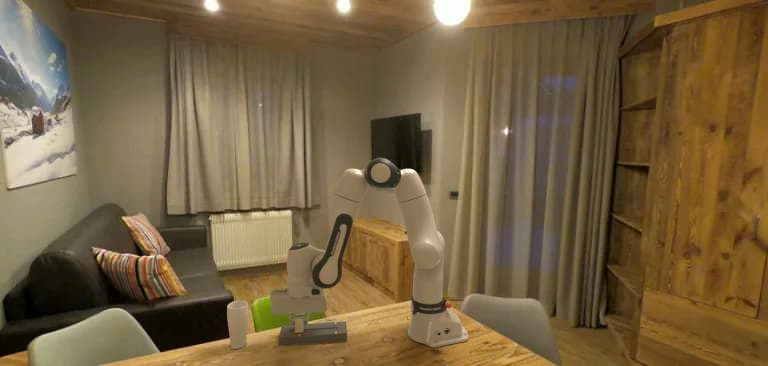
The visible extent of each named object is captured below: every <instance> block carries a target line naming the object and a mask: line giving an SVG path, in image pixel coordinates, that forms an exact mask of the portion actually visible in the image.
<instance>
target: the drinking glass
mask: <svg viewBox="0 0 768 366" xmlns="http://www.w3.org/2000/svg"><path fill="white" fill-rule="evenodd" d="M226 313H227V314H226V316H227V317H226V318H227V319H226V320H227V327H228V333H229V345H230V348H231V349H234V350H240V349H242V348H244V347H246V345H247V341H248V339H247V337H248V321H249V303H248V301H245V300H235V301H232V302H229V303H228V304H227V306H226Z"/></svg>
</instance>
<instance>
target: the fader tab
mask: <svg viewBox="0 0 768 366" xmlns="http://www.w3.org/2000/svg"><path fill="white" fill-rule="evenodd" d="M304 318H305V314H295V317H294V319H295V333H299V332H304Z"/></svg>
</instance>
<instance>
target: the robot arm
mask: <svg viewBox="0 0 768 366" xmlns="http://www.w3.org/2000/svg"><path fill="white" fill-rule="evenodd" d="M373 188H374V189H379V190H383V189H391V190H392V191H393V193H394V195H395V198H396V201H397V204H398V206H399V210H400V212H401V215H402V219H403V222H404V226H405V231H406V235H407V241H408V244H409V249H410V254H411V259H412V262H413V263H414V267H413V277H412V279H413V280H412V296H411V301H410V311H411V316H410V321H409V322H410V323H409V327H408V330H407V336H408V337H409V338H410V339H411V340H413V341H414V342H417V343H420V344H424V345H426V346H428V347H430V348H439V347H443V346H448V345H452V344H453V345H454V344H457V343H458V344H459V343H464V342H467V341H468V340H469V334H468V331H467V330H466V328H465V327H464V326H463V325H462V321H461V319H460V317H459V316H458V314H457V313H455V312H454V311H453V310H452V309H451V308H452V304H451V302H450V301H449V300H447V299H446V298H445V297H443V289H444V288H443V287H444V284H443V283H444V270H445V268H444V267H445V253H446V241H445V238H444V236H443V235H442V233H441V232H440V231H438V230H437V226H436V225H437V224H436V221H435V215H434V212H433V208H432V207H431V203H430V200H429V197H428V194H427V191H426V189H425V186H424V183H423V181H422V179H421V177H420V175H419V174H418V172H417V171H416V170H414V169H412V168H403V169H399V168H398V167H397V166H396V165H395V164H394V163H393V162H392V161H390V160H389V159H387V158H384V157H376V158H374V159H372V160H370V162H368V164H367V165H366V167H365V169H358V168H348V169H345V171H344V172H343V173H342V175H341V176H340V179H339V180H338V182H337V184H336V187H335V189H334V191H333V195H332V197H331V201H330V206H329V216H330V222H331V229H330V230H331V231H330V236H329V238H328V241H327V243H326V244H327V245H326V247H325V249H321V248H318V247H315V246H313V245H311V244H310V243H309V242H299V243H296V244H294V245H291V246H290V247H289V249H288V251H287V256H286V271H287V278H286V287H285V288H274V289H273V290H271V291H270V293H269V300H270V301H271V304H270V314H271V315H272V316H285V315H287V318H288V319H289V321H290V322H291V323H290V325H295V318H294V317H293V315H296V314H304V315H305V314H306V317H304V325H308V324H309V319H310V318H311V316H312V314H323V313H326V312H327V311H328V306H329V305H328V298H327V297H328V296H327V293H326V291H325V289H326V290H327V289H332V288H334V287H336V286H337V285H338V284H339V283H340V281H341V280H342V276H343V267H342V261H343V257H344V255H345V251H346V247H347V244H348V241H349V238H350V234H351V231H352V229H353V227H354V223H355V222H356V219H357V218H358V214H359V212H360V210H361V207H362V204H363V201H364V199H365V196H366V194H367V192H368V191H369V190H370V189H373Z"/></svg>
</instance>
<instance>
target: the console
mask: <svg viewBox="0 0 768 366" xmlns="http://www.w3.org/2000/svg"><path fill="white" fill-rule="evenodd" d="M340 342H342V343H343V342H348V328H347V321H331V322H315V323H308V325H304V332H299V333H295V325H291V324H282V325H281V328H280V331H279V335H278V346H279V347H281V346H296V345H309V344H310V345H313V344H323V343H324V344H325V343H340Z"/></svg>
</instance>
